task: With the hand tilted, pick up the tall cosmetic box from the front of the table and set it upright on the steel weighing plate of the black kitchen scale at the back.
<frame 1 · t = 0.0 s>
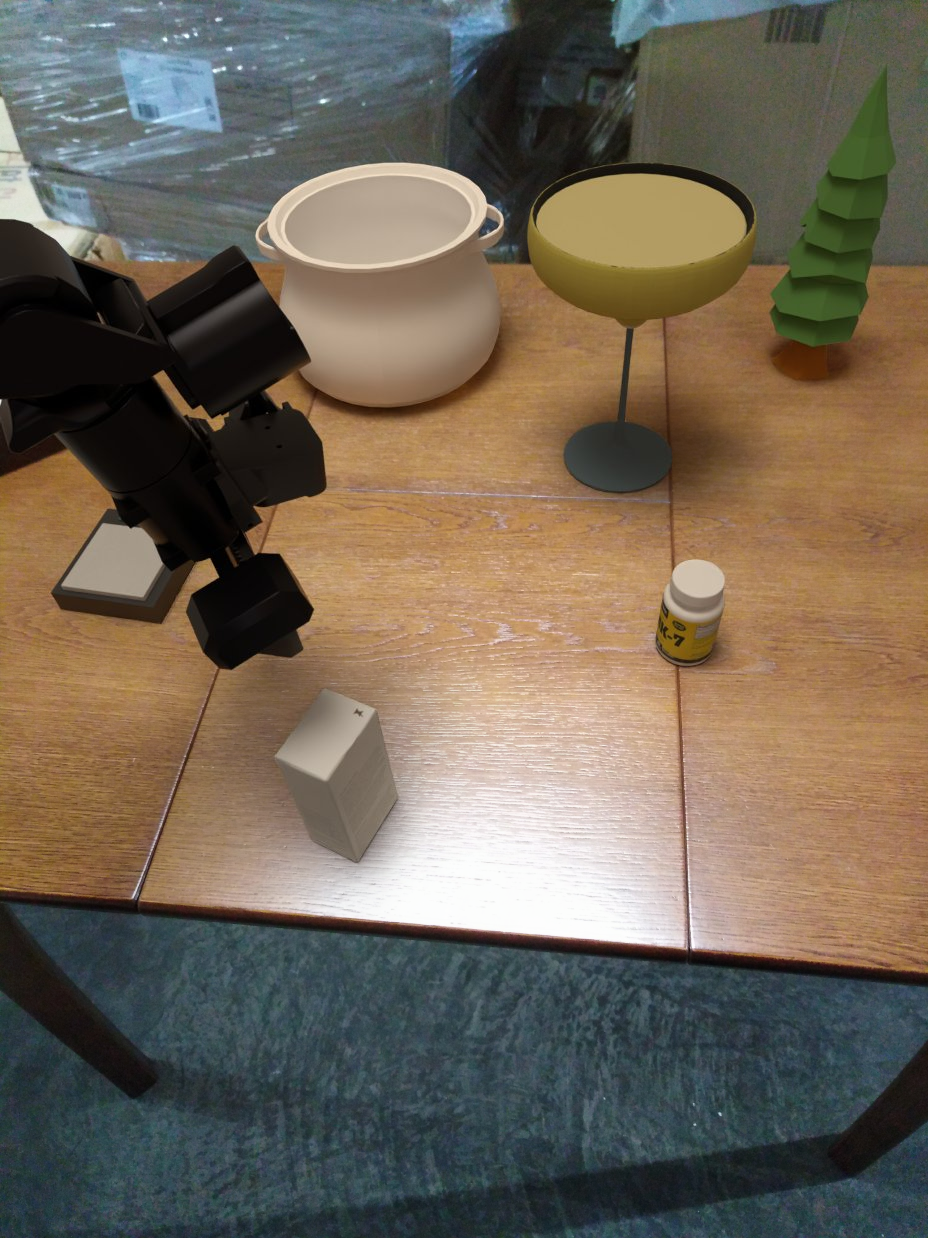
hand: (272, 605, 61), 14 cm above the table, tool pointing down, fingers open, 9 cm apart
pot: (396, 356, 104), on the table
cosmetic box: (354, 820, 66), on the table
cocktail glass: (617, 458, 90), on the table
supplement bottle: (683, 646, 75), on the table
decorative tree: (800, 362, 99), on the table
kitchen scale: (137, 571, 83), on the table
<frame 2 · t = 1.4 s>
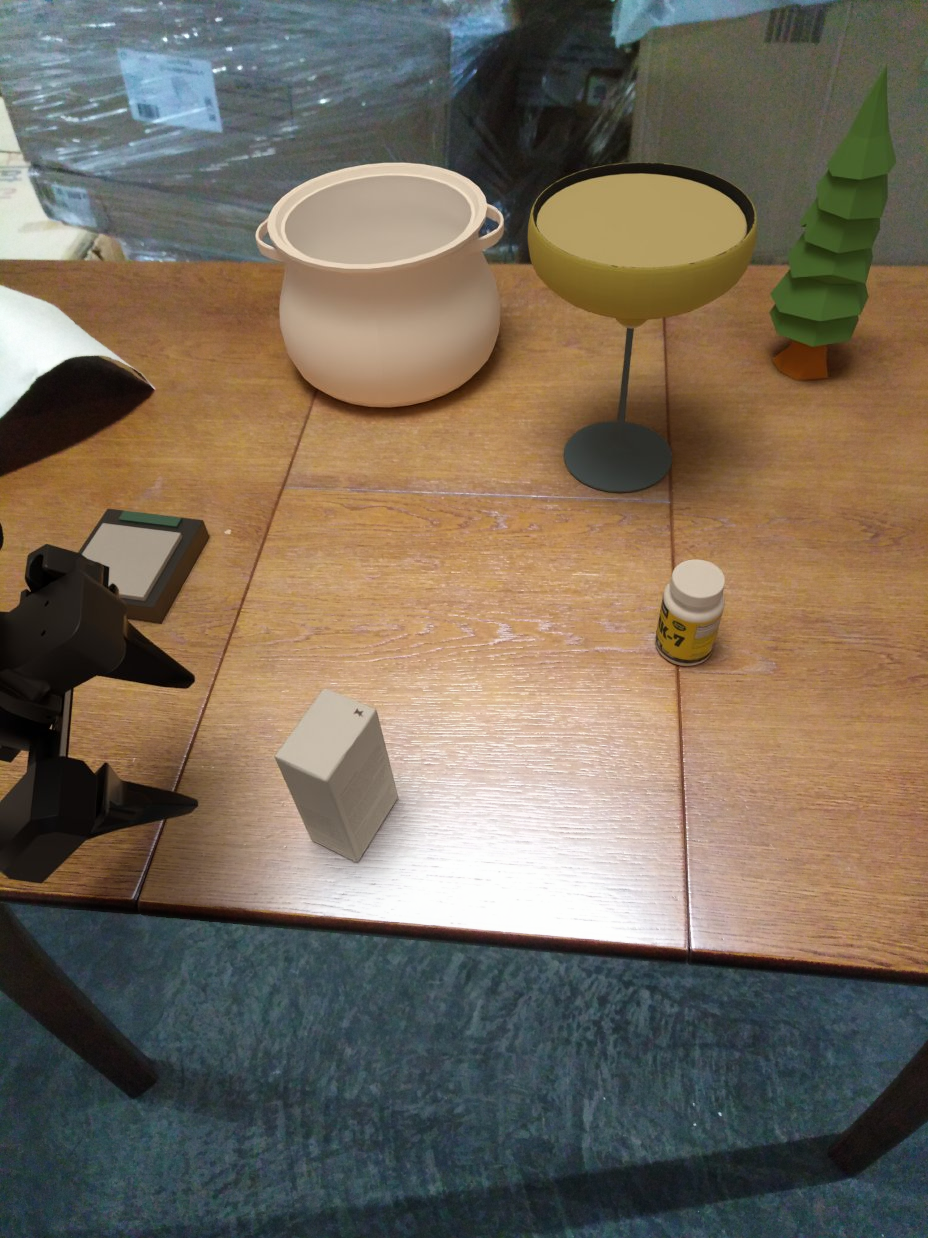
hand: (193, 741, 55), 13 cm above the table, tool tilted 45°, fingers open, 9 cm apart
nothing on the table moved.
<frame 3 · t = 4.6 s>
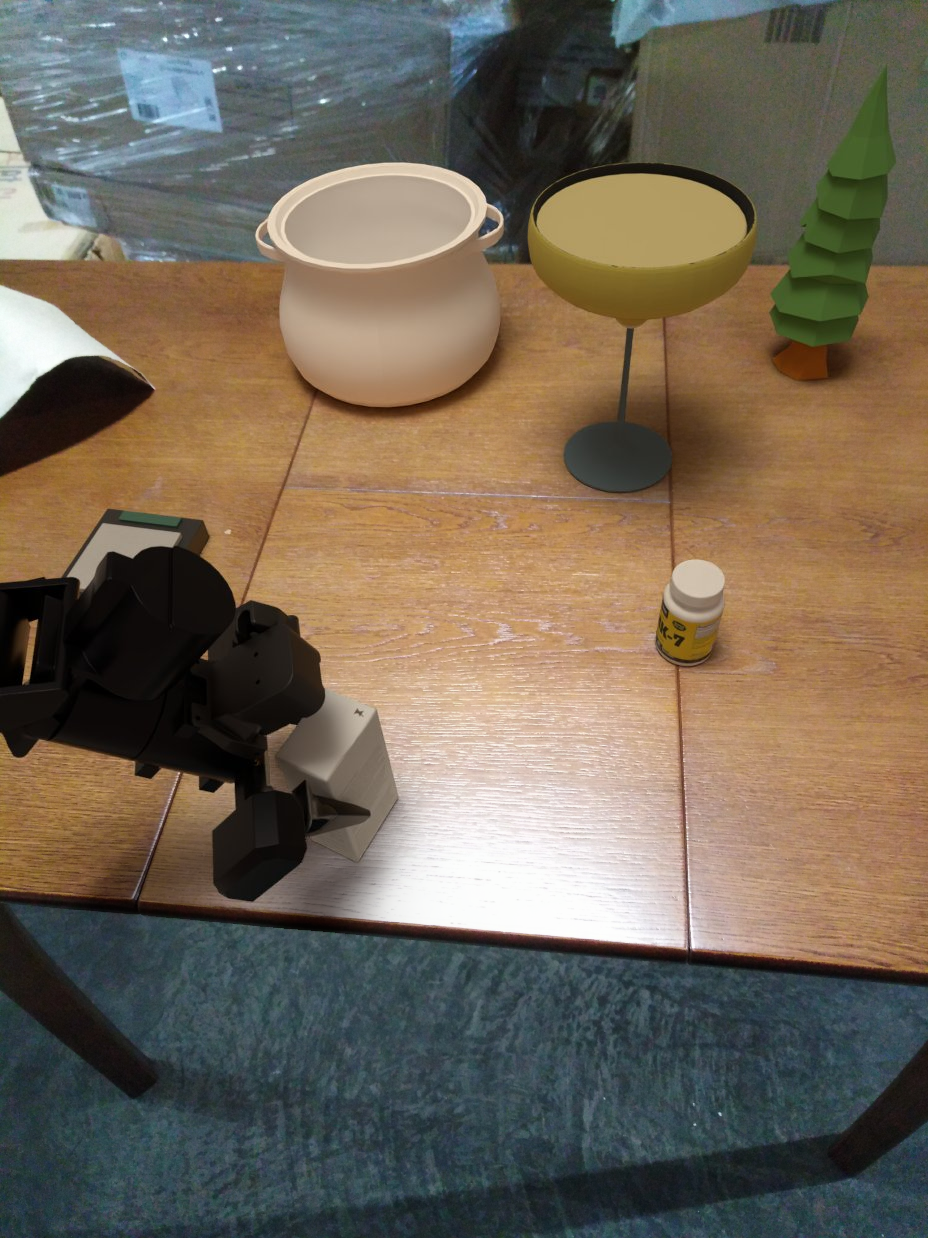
hand: (360, 770, 61), 7 cm above the table, tool tilted 45°, fingers closed on cosmetic box, 7 cm apart
cosmetic box: (354, 820, 66), on the table, touching gripper
everything else where it was.
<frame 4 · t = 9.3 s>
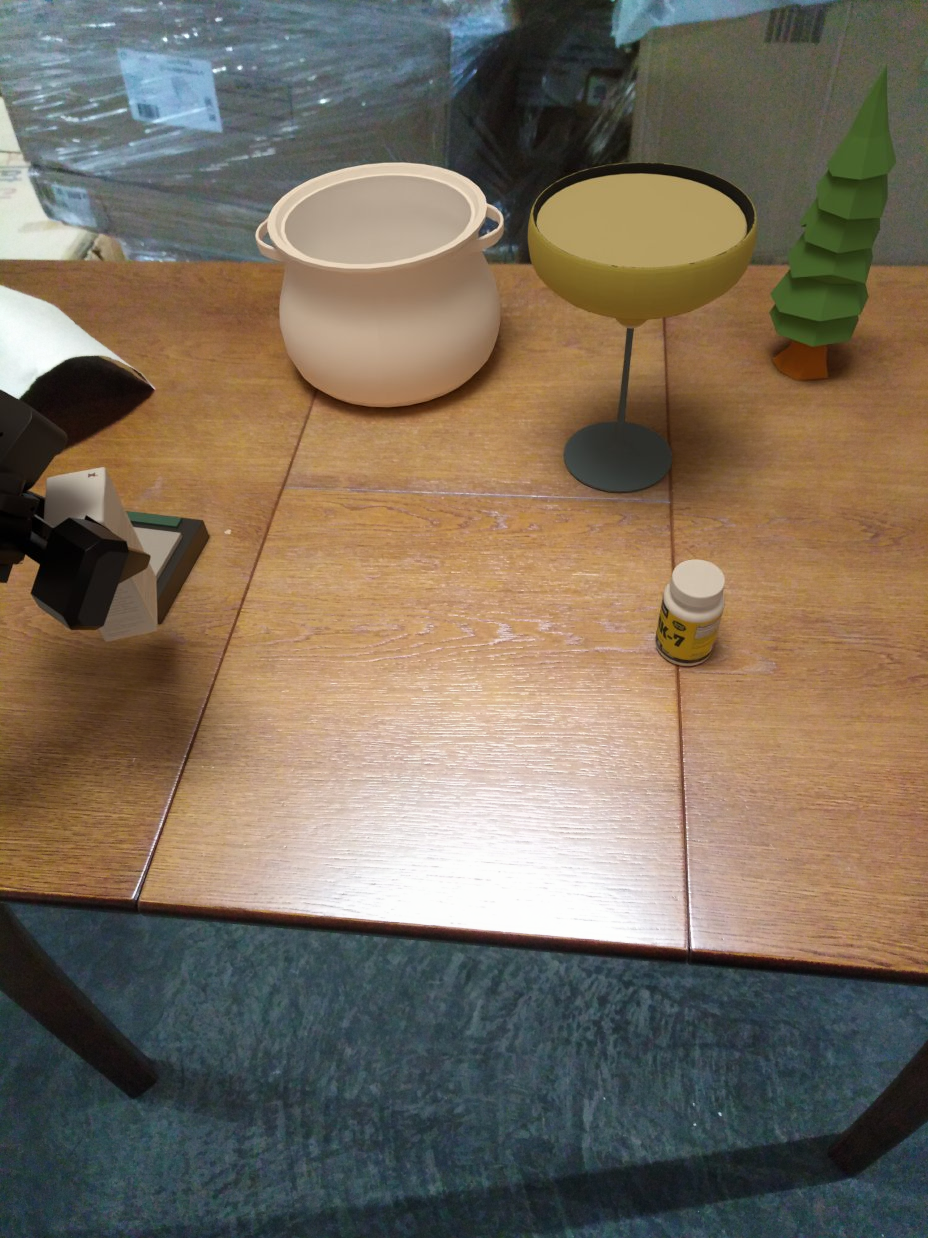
hand: (116, 541, 66), 14 cm above the table, tool tilted 45°, fingers closed on cosmetic box, 7 cm apart
cosmetic box: (132, 612, 71), point 7 cm above the table, touching gripper
everything else where it was.
when the fingers open (9 cm above the table, at t = 14.1 s): cosmetic box stays where it is, resting on kitchen scale.
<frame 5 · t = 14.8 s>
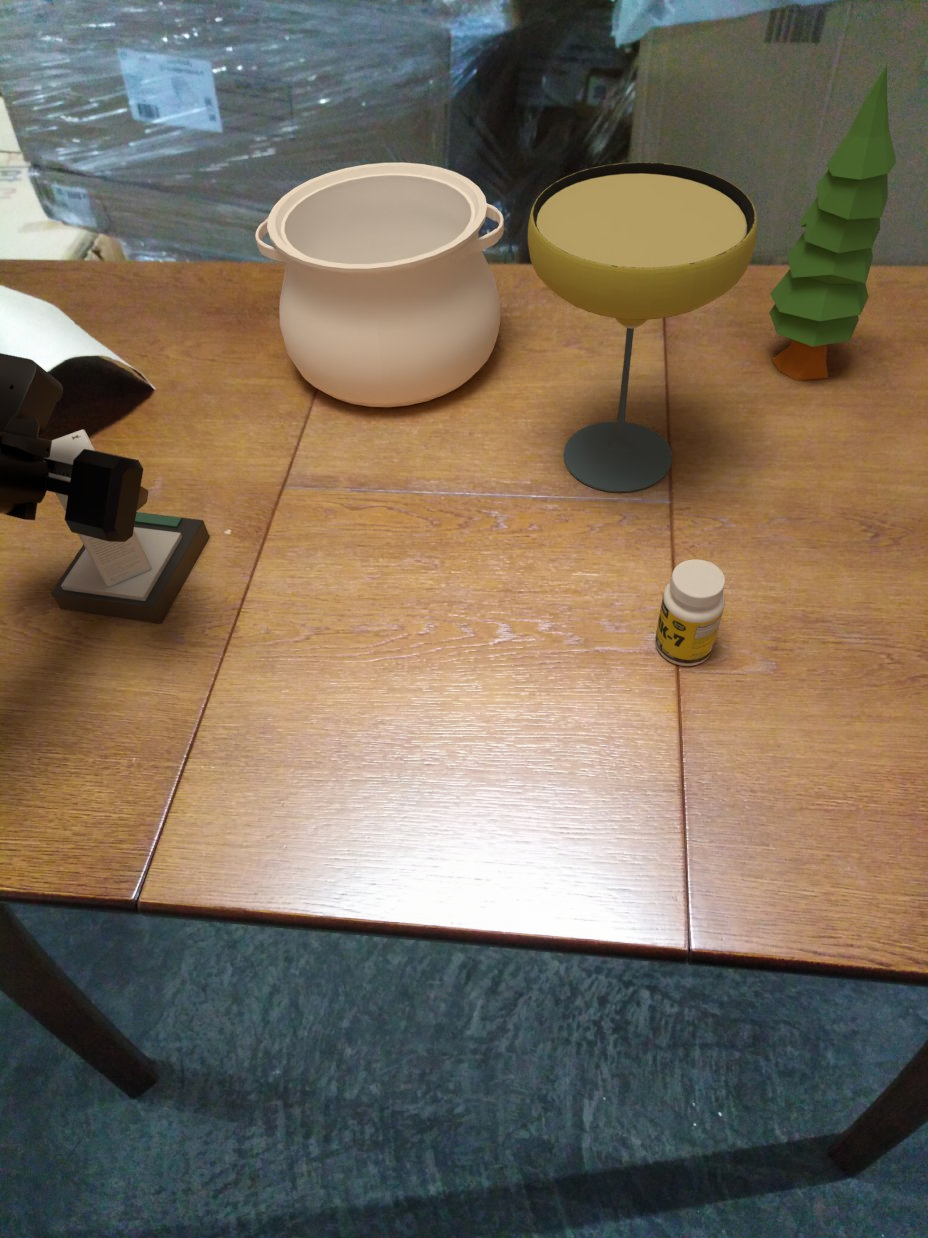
hand: (100, 485, 76), 10 cm above the table, tool tilted 45°, fingers open, 9 cm apart
cosmetic box: (121, 560, 81), point 3 cm above the table, touching kitchen scale
everything else where it was.
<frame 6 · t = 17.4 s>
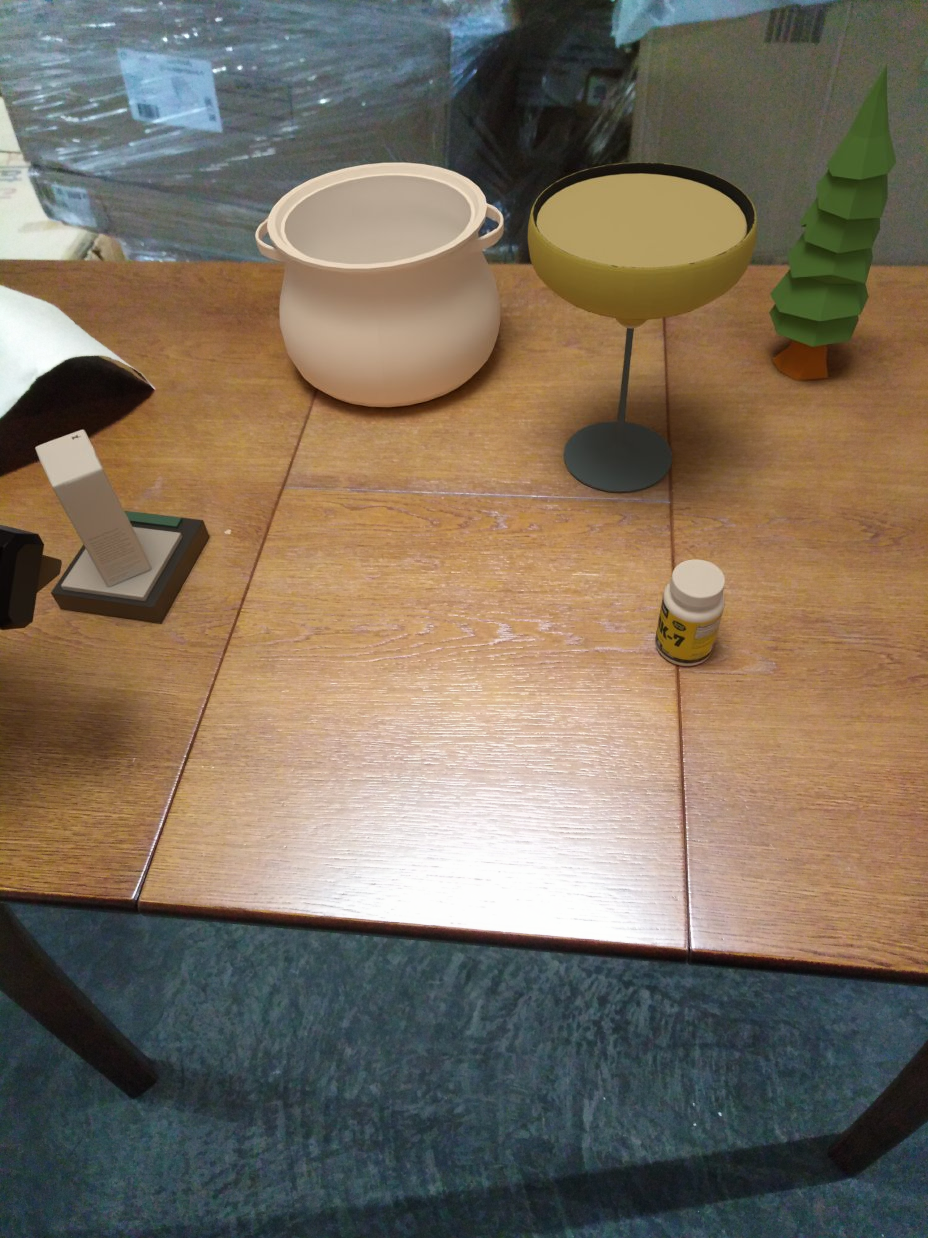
hand: (8, 553, 66), 13 cm above the table, tool tilted 45°, fingers open, 9 cm apart
nothing on the table moved.
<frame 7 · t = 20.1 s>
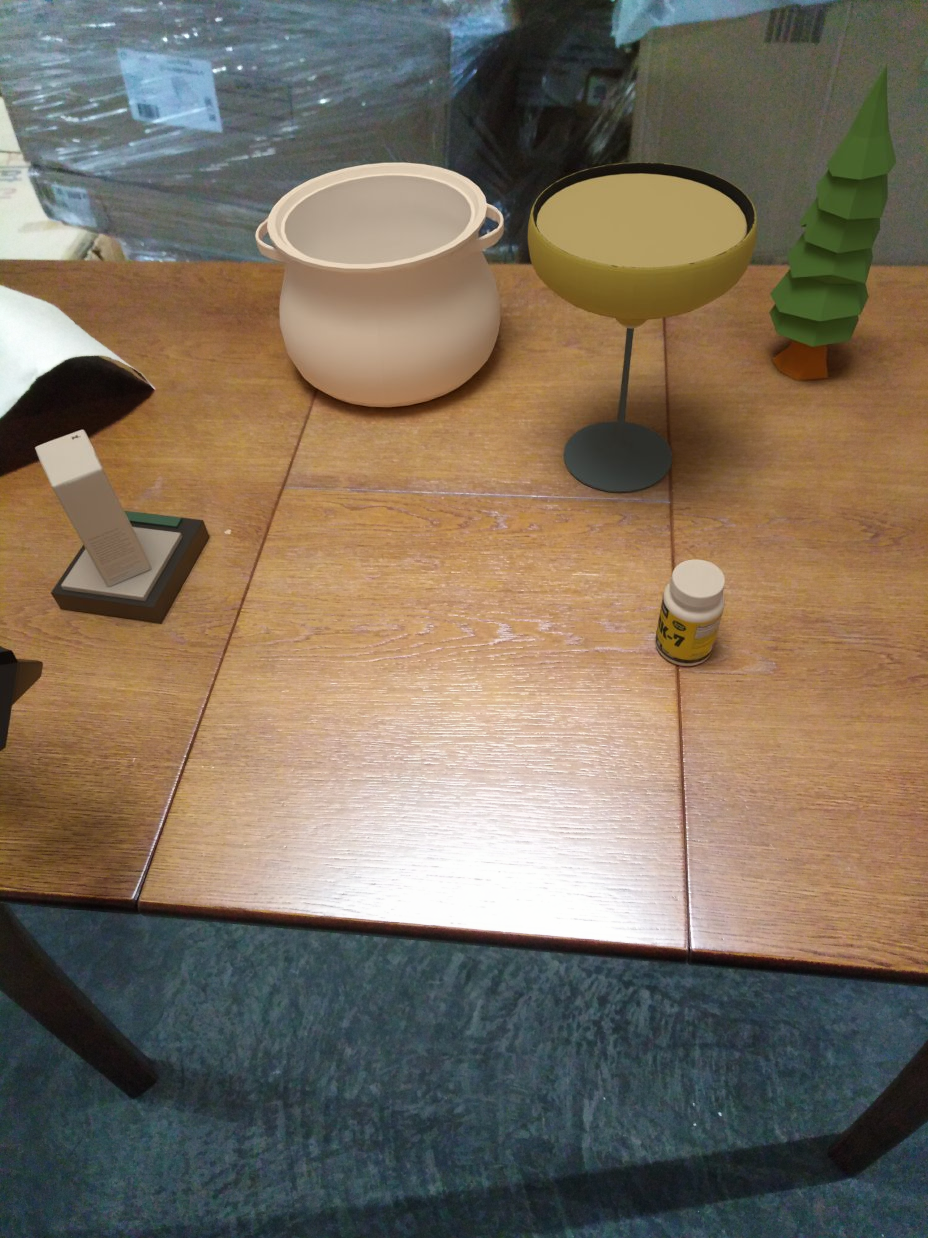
nothing on the table moved.
at the end: cosmetic box inside the target area on the kitchen scale (0.1 cm from its centre), point 2.6 cm above the kitchen scale's base; cosmetic box tilted 0°; the gripper is holding nothing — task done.
